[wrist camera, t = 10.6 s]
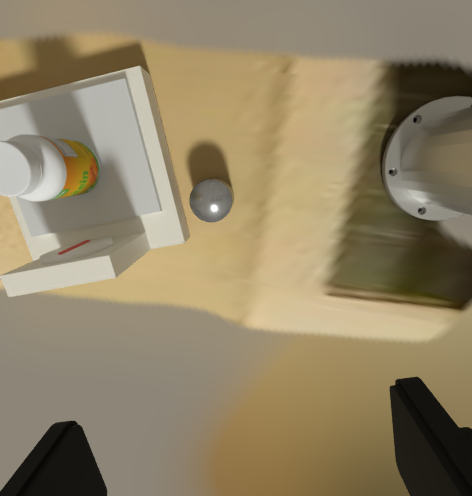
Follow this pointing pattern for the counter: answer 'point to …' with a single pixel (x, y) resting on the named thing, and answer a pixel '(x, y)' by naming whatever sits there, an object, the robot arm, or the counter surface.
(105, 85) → the scale
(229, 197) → the metal cylinder weight
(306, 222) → the counter surface
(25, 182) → the supplement bottle
